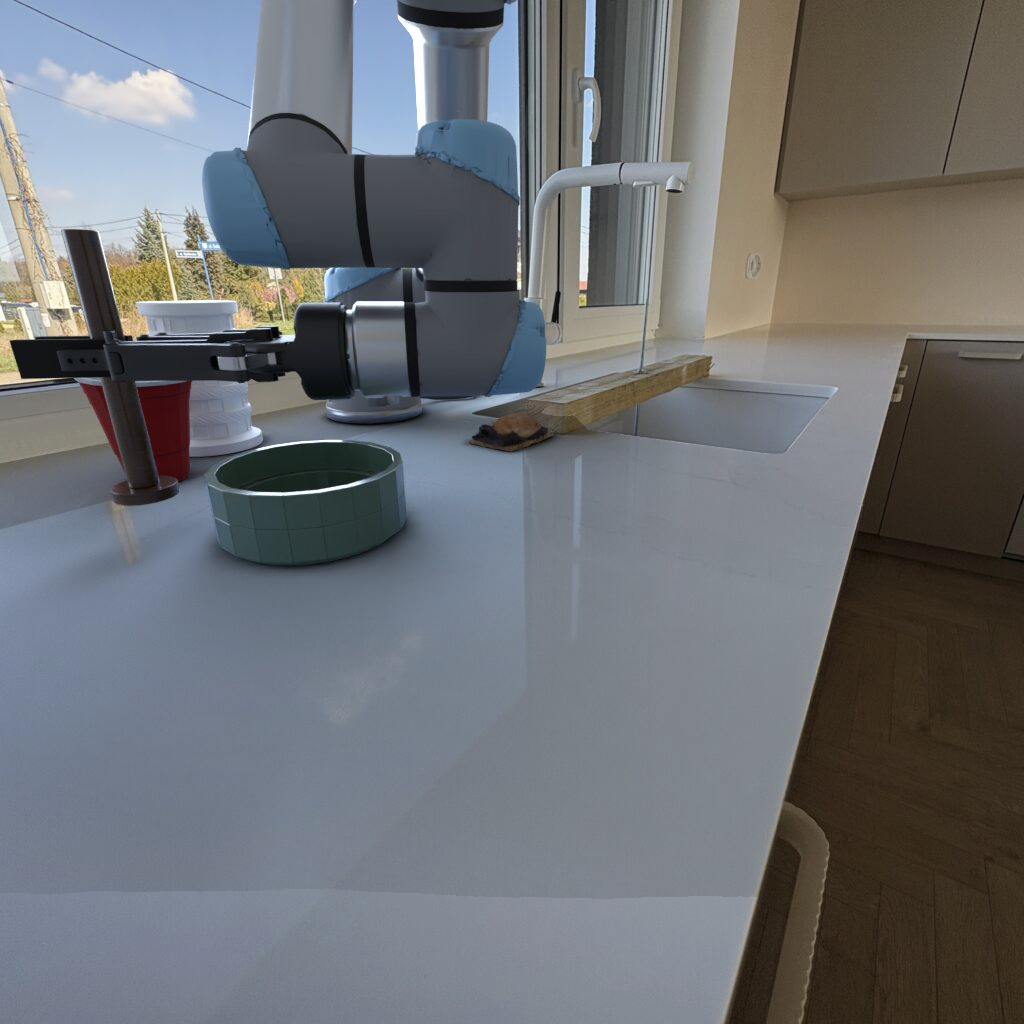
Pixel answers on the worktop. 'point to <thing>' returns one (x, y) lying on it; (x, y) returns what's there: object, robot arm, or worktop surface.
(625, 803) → the worktop surface
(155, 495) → the stirring stick
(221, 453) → the decorative container
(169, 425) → the plastic cup
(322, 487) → the bowl
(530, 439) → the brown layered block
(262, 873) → the worktop surface
